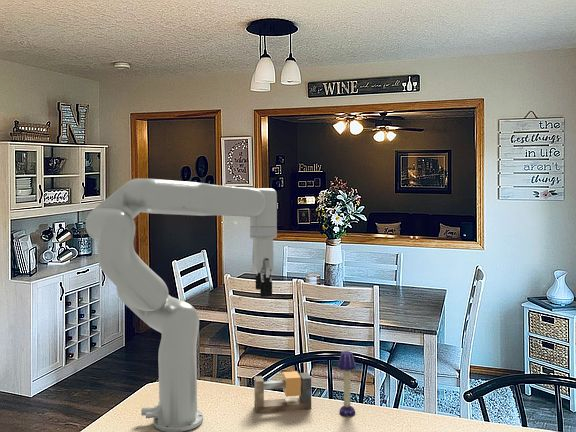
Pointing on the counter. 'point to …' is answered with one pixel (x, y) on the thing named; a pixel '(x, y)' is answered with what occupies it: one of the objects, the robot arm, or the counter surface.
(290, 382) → the sleeve
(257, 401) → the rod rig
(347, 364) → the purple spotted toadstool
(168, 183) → the robot arm
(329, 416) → the counter surface
